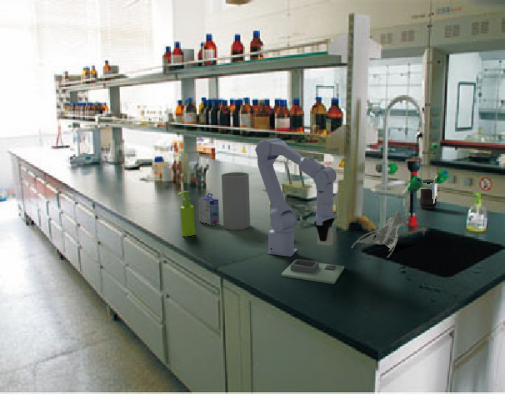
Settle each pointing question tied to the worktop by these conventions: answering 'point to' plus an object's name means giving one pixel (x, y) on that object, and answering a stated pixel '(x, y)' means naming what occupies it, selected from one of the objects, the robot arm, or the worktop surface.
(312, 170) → the robot arm
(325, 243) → the keyed plug
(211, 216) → the ink cartridge box
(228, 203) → the cylinder vase
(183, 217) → the soap dispenser
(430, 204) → the camera lens
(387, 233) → the skeletal model
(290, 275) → the white board with tray
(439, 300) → the worktop surface
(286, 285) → the worktop surface
